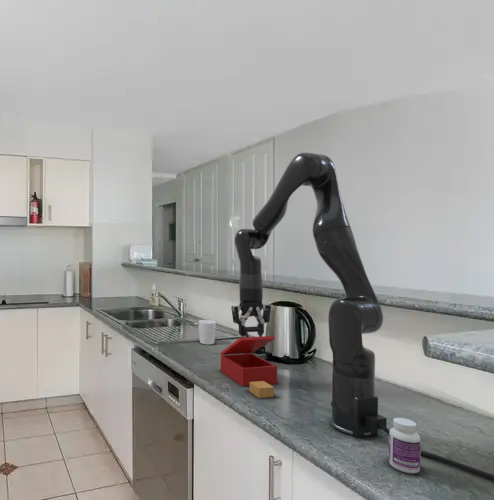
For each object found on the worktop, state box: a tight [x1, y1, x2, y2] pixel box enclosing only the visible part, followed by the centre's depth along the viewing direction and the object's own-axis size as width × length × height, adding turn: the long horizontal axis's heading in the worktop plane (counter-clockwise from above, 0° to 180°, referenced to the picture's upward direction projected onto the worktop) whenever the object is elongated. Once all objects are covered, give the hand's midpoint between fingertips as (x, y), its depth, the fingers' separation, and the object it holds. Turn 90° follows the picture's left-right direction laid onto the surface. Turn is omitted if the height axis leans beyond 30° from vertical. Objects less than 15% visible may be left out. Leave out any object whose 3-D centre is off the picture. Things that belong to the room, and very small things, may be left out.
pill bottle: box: [388, 417, 422, 474], centre depth 83 cm, size 5×5×10 cm
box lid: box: [220, 325, 276, 356], centre depth 139 cm, size 17×13×5 cm
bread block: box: [249, 381, 275, 399], centre depth 122 cm, size 6×5×3 cm
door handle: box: [254, 345, 292, 363], centre depth 161 cm, size 3×20×16 cm
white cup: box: [198, 319, 217, 345], centre depth 184 cm, size 8×8×10 cm
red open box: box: [220, 353, 278, 387], centre depth 138 cm, size 16×13×6 cm
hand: (251, 335), depth 135 cm, fingers closed on box lid, 6 cm apart
